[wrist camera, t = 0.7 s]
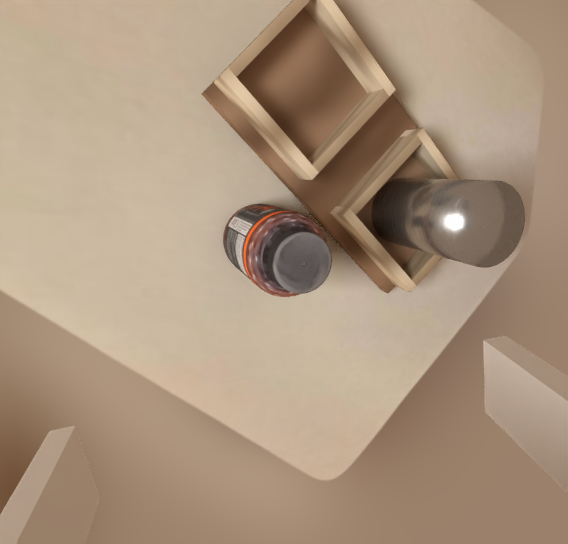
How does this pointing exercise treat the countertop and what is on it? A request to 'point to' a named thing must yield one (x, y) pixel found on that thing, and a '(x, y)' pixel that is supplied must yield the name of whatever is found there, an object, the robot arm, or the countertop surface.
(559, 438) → the robot arm
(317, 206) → the wooden divided tray
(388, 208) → the billet
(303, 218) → the supplement bottle
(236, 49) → the countertop surface
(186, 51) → the countertop surface
